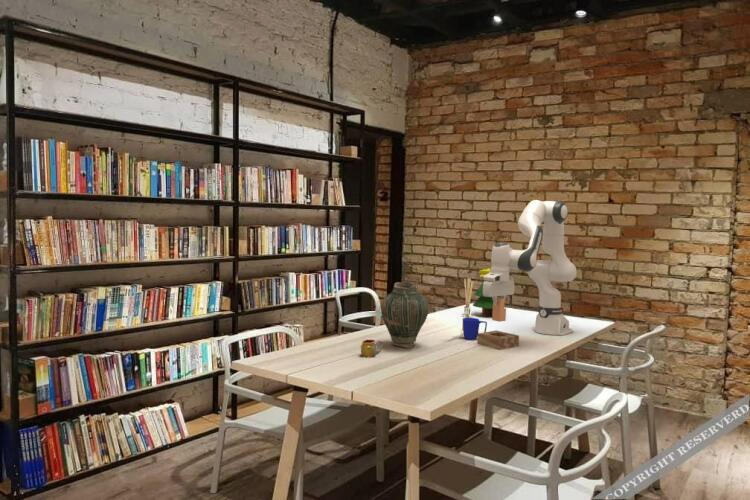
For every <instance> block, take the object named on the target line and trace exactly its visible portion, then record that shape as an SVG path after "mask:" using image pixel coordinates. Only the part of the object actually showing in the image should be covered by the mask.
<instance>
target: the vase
mask: <svg viewBox="0 0 750 500" xmlns="http://www.w3.org/2000/svg"><path fill="white" fill-rule="evenodd" d="M417 289H418V288H417V286H416V284H415V283H414V282H412V281H401V282H399V281H397V282H395V283H394V285H393V289H392V291H391V292H390V293H388V294H387V295H385V296H384V298H383V300H382V302H381V305H380V306H381V307H380V311H381V317H382V320H383V322H384V323H383V324H384V325H385V327H386V329H387V331H388V333H389V336H390V339H391V341H392V343H391V344H392V346H393V345H394V346H397V347H401V348H406V349H407V348H408V349H410V348H414V347H415V342H416V341H417V337H418V335H419V333H420V331H421V329H422V327H423V326H424V324H425V322H426V320H427V318H428V314H429V309H430V307H429V303H428V299H427V298H426V297H425V295H423V294H421V293H419V292H418V290H417Z"/></svg>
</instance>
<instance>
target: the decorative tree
mask: <svg viewBox="0 0 750 500" xmlns="http://www.w3.org/2000/svg"><path fill="white" fill-rule="evenodd" d="M478 272H479V273H481V274H480V275H479V277H482V278H483V277H484V276H485V275H487V274H488V273H490V272H491V268H490V267H488V268H486V269H485V268H484V269H480V270H478ZM484 281H486V280H484ZM484 281H483V282H482V283H481V285H480V286H479V287H478V289H477V290H476V291H475V292H474V294H473V295H474V296H476V297H478V298H477V299H476V300H475V302H474V303H473V304H472V307H475V308H479V309H481V317H485V318H492V313H493V300H492V297H486V296H484V295H483V283H484ZM497 297H499V298H501V296H497Z"/></svg>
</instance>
